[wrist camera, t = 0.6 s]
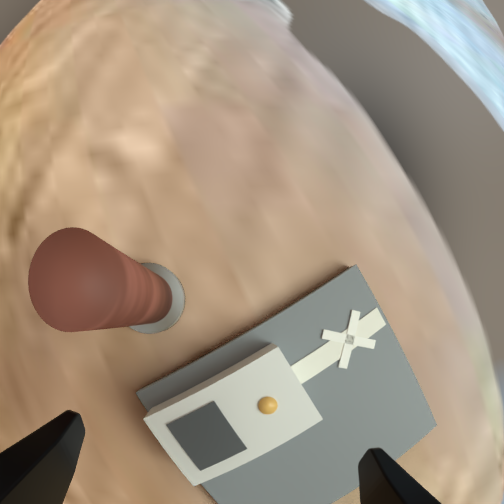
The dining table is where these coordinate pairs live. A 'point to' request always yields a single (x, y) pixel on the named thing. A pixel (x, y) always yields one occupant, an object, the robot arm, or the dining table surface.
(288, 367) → the block
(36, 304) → the joystick
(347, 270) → the subfloor panel
